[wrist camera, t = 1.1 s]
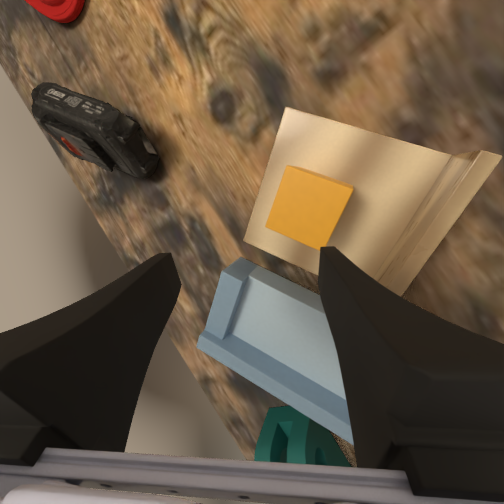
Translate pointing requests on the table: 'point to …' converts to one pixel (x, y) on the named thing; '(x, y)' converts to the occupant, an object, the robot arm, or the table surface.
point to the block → (308, 206)
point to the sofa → (278, 342)
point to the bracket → (297, 440)
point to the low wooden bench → (371, 196)
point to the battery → (93, 130)
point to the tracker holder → (58, 9)
